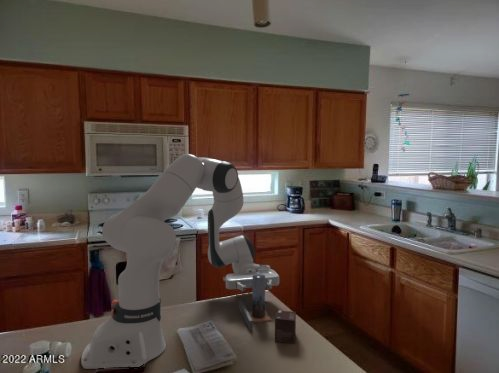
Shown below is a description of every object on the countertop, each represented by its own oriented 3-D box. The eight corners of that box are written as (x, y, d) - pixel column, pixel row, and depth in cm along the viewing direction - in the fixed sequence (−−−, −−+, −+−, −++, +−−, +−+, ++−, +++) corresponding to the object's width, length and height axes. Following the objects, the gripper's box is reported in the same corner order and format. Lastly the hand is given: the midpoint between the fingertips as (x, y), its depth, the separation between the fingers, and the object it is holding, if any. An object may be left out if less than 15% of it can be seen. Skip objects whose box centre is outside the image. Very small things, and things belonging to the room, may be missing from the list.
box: (294, 344, 105) (294, 320, 104) (274, 341, 106) (274, 318, 105) (295, 333, 111) (296, 311, 110) (276, 331, 112) (277, 309, 111)
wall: (249, 329, 113) (249, 320, 112) (239, 308, 128) (239, 300, 128) (252, 329, 113) (252, 320, 113) (242, 308, 128) (242, 300, 128)
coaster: (251, 322, 117) (251, 321, 117) (246, 313, 124) (246, 312, 124) (271, 320, 119) (271, 319, 119) (265, 311, 126) (265, 310, 126)
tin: (253, 319, 119) (254, 279, 118) (250, 313, 123) (251, 274, 122) (266, 317, 120) (266, 278, 119) (262, 312, 124) (263, 273, 123)
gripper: (221, 268, 135) (227, 281, 121) (273, 265, 139) (284, 277, 126) (222, 284, 135) (228, 299, 122) (272, 280, 140) (284, 294, 126)
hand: (257, 288), depth 124 cm, fingers open, 8 cm apart
